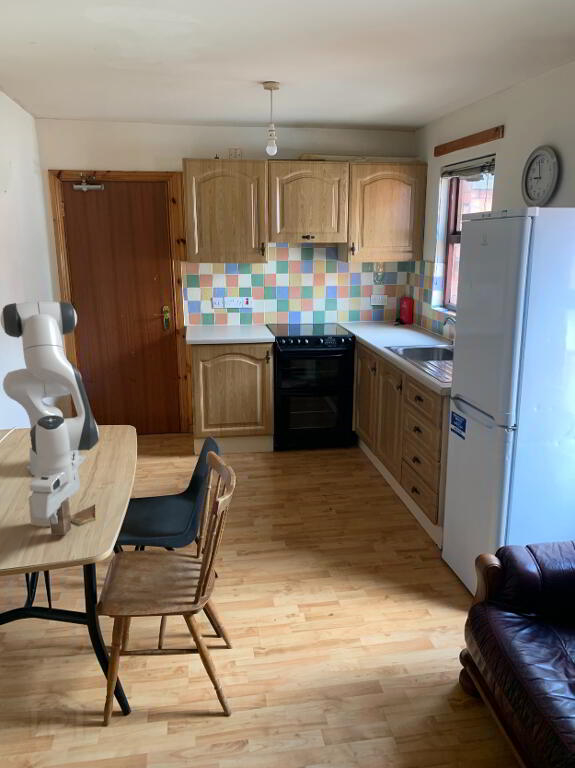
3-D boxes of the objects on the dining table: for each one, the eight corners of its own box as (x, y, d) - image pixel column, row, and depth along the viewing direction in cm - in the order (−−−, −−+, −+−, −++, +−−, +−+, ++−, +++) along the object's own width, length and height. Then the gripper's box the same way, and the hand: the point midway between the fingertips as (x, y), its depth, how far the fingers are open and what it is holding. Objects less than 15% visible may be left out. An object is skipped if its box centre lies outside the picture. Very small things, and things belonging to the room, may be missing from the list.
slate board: (34, 523, 177) (31, 495, 174) (59, 524, 176) (56, 497, 174) (31, 525, 175) (28, 497, 173) (56, 527, 174) (53, 499, 172)
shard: (95, 508, 188) (94, 503, 187) (112, 513, 184) (111, 508, 183) (67, 521, 179) (67, 516, 178) (84, 528, 175) (84, 522, 174)
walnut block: (58, 527, 171) (55, 496, 168) (71, 528, 171) (68, 496, 168) (51, 534, 167) (48, 502, 165) (64, 535, 167) (61, 503, 164)
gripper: (63, 458, 174) (67, 501, 178) (25, 488, 155) (30, 535, 158) (83, 460, 174) (87, 502, 177) (47, 489, 154) (52, 536, 158)
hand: (60, 518), depth 168 cm, fingers closed on walnut block, 4 cm apart
